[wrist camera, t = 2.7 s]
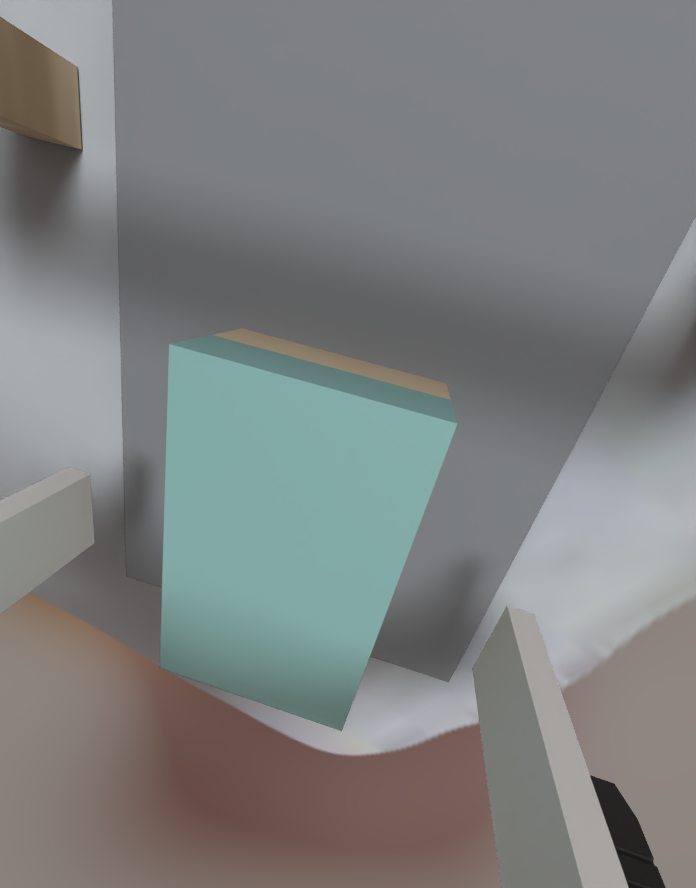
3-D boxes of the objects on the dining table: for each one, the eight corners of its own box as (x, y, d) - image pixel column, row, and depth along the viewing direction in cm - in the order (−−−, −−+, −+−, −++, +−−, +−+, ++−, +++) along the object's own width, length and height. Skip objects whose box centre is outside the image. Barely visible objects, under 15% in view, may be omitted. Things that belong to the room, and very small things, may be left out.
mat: (131, 570, 19) (126, 576, 18) (120, -197, 9) (107, -218, 8) (448, 673, 17) (448, 681, 17) (840, -78, 8) (861, -98, 7)
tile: (214, 588, 17) (159, 668, 14) (242, 328, 13) (169, 344, 9) (358, 636, 17) (341, 731, 13) (446, 383, 12) (457, 423, 8)
